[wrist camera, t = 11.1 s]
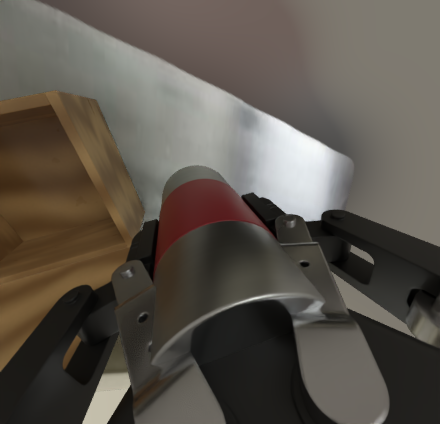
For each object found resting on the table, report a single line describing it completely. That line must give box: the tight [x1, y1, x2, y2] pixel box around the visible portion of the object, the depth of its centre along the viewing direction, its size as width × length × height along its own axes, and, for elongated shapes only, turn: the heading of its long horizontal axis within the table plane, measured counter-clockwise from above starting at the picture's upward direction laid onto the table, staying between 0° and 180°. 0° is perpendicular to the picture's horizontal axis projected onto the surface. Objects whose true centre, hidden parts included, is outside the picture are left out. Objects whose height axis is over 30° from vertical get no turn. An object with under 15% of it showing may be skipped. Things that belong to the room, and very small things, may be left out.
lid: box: [0, 247, 130, 372], centre depth 13 cm, size 15×17×5 cm
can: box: [150, 165, 325, 366], centre depth 10 cm, size 5×5×12 cm
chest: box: [0, 90, 145, 285], centre depth 20 cm, size 15×17×9 cm
